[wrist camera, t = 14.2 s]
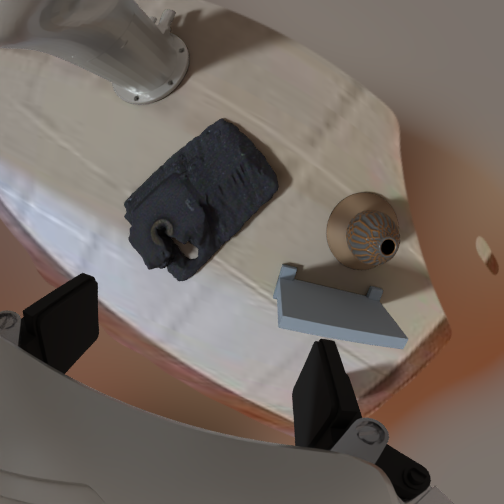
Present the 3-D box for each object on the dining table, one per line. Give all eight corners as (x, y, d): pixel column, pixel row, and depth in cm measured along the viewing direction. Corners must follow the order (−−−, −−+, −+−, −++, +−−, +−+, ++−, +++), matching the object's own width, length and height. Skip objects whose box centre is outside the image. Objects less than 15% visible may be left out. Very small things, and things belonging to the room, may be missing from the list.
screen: (282, 263, 39) (287, 300, 27) (381, 288, 39) (414, 326, 27) (273, 295, 40) (273, 340, 29) (369, 316, 40) (396, 360, 29)
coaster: (338, 182, 35) (339, 182, 35) (405, 206, 35) (407, 206, 35) (316, 258, 38) (317, 259, 38) (383, 275, 38) (384, 277, 38)
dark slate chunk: (295, 196, 37) (298, 199, 32) (177, 286, 41) (167, 299, 37) (225, 110, 34) (219, 102, 30) (116, 209, 39) (100, 214, 34)
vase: (391, 215, 35) (421, 226, 27) (377, 260, 37) (402, 282, 29) (348, 200, 35) (371, 208, 27) (334, 248, 37) (351, 269, 29)
